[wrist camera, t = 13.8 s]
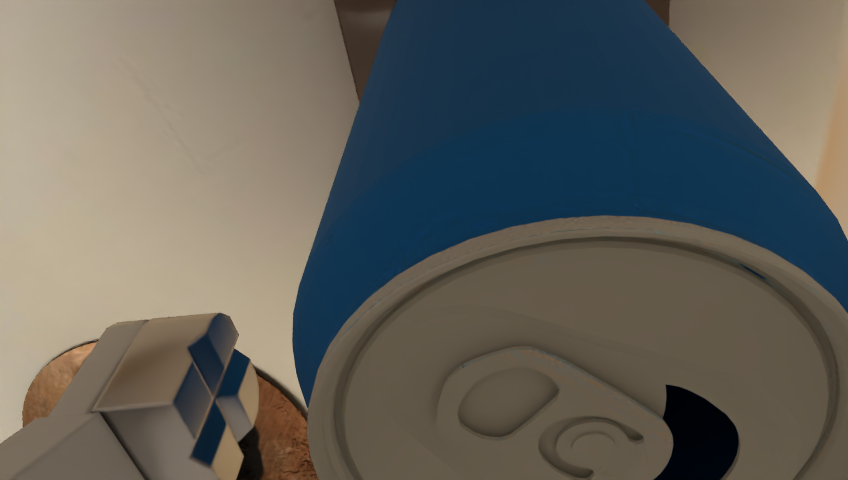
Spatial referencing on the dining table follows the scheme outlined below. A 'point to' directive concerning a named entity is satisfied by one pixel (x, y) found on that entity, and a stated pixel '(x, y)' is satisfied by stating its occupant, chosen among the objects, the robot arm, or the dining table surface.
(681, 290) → the beverage can
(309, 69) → the dining table surface
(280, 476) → the skull
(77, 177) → the dining table surface
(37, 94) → the dining table surface
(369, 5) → the coaster
